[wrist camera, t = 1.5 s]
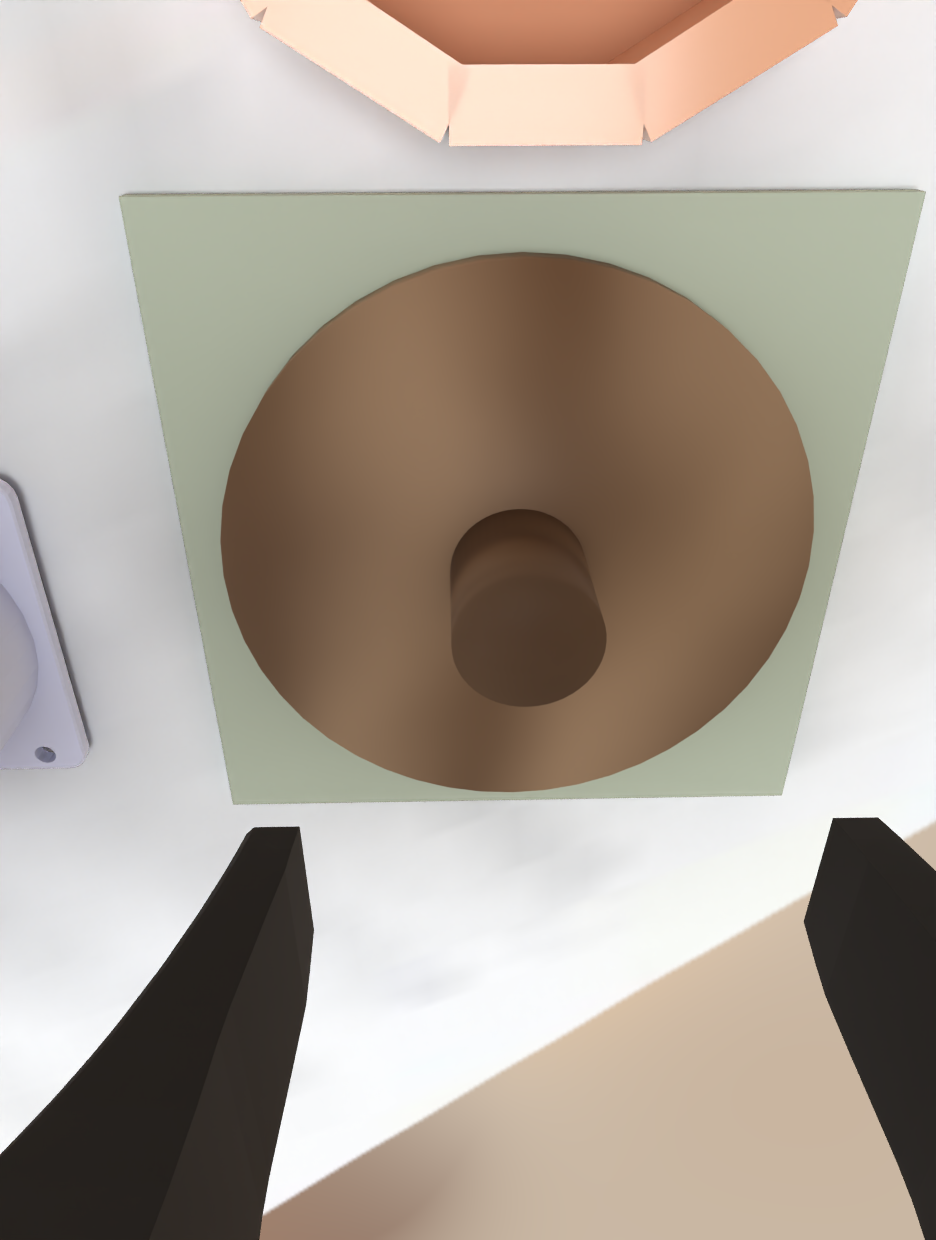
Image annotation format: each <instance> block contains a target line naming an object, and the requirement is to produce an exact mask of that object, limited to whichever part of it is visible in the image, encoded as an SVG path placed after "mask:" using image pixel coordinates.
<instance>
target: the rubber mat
mask: <svg viewBox="0 0 936 1240" xmlns="http://www.w3.org/2000/svg"><path fill="white" fill-rule="evenodd" d="M925 193H926V192H925V191H920V190H755V191H591V192H428V193H264V194H125V195H122V196H119V201H120V206H121V211H122V217H123V222H124V227H125V233H126V238H127V243H128V248H129V254H130V259H131V264H132V270H133V275H134V280H135V286H136V291H137V296H138V302H139V307H140V312H141V317H142V323H143V328H144V333H145V339H146V344H147V349H148V355H149V360H150V365H151V371H152V376H153V381H154V387H155V392H156V397H157V402H158V408H159V413H160V418H161V424H162V429H163V434H164V440H165V445H166V450H167V456H168V461H169V466H170V471H171V477H172V482H173V487H174V493H175V498H176V503H177V509H178V514H179V519H180V525H181V530H182V535H183V541H184V546H185V551H186V556H187V562H188V567H189V572H190V578H191V583H192V588H193V594H194V599H195V604H196V610H197V615H198V620H199V625H200V631H201V636H202V641H203V647H204V652H205V657H206V663H207V668H208V673H209V679H210V684H211V689H212V695H213V700H214V705H215V710H216V716H217V721H218V726H219V732H220V737H221V742H222V748H223V753H224V758H225V764H226V769H227V774H228V779H229V785H230V790H231V795H232V801H233V804H292V803H352V802H413V801H473V800H534V799H594V798H654V797H715V796H775V795H782V792H783V788H784V784H785V780H786V775H787V771H788V767H789V763H790V759H791V754H792V750H793V746H794V742H795V738H796V734H797V729H798V725H799V721H800V717H801V713H802V708H803V704H804V700H805V696H806V692H807V687H808V683H809V679H810V675H811V671H812V667H813V662H814V658H815V654H816V650H817V646H818V641H819V637H820V633H821V629H822V625H823V620H824V616H825V612H826V608H827V604H828V600H829V595H830V591H831V587H832V583H833V579H834V574H835V570H836V566H837V562H838V558H839V553H840V549H841V545H842V541H843V537H844V533H845V528H846V524H847V520H848V516H849V512H850V507H851V503H852V499H853V495H854V491H855V486H856V482H857V478H858V474H859V470H860V466H861V461H862V457H863V453H864V449H865V445H866V440H867V436H868V432H869V428H870V424H871V419H872V415H873V411H874V407H875V403H876V399H877V394H878V390H879V386H880V382H881V378H882V373H883V369H884V365H885V361H886V357H887V352H888V348H889V344H890V340H891V336H892V332H893V327H894V323H895V319H896V315H897V311H898V306H899V302H900V298H901V294H902V290H903V285H904V281H905V277H906V273H907V269H908V265H909V260H910V256H911V252H912V248H913V244H914V239H915V235H916V231H917V227H918V223H919V218H920V214H921V210H922V206H923V202H924V198H925ZM514 252H533V253H550V254H567V255H571V256H576V257H581V258H586V259H591V260H596V261H601V262H606V263H610V264H613V265H616V266H618V267H621V268H624V269H627V270H629V271H632V272H635V273H638V274H641V275H643V276H646V277H649V278H651V279H653V280H655V281H657V282H658V283H660V284H662V285H664V286H666V287H668V288H670V289H671V290H673V291H675V292H677V293H679V294H681V295H683V296H685V297H686V298H688V299H689V300H690V301H692V302H693V303H694V304H696V305H697V306H698V307H700V308H701V309H702V310H704V311H705V312H706V313H708V314H709V315H710V316H712V317H713V318H714V319H716V320H717V321H718V322H720V323H721V324H722V325H723V326H724V327H725V328H726V329H728V330H729V331H730V332H731V333H732V334H733V335H734V336H735V337H736V338H737V339H738V340H739V341H740V342H741V344H742V345H743V346H744V347H745V348H746V349H747V350H748V351H749V352H750V353H751V354H752V355H753V356H754V357H755V358H756V359H757V360H758V361H759V363H760V364H761V366H762V367H763V368H764V370H765V371H766V372H767V374H768V375H769V377H770V378H771V379H772V381H773V382H774V384H775V385H776V386H777V388H778V389H779V391H780V392H781V394H782V396H783V398H784V400H785V402H786V404H787V406H788V408H789V410H790V412H791V414H792V416H793V418H794V420H795V422H796V424H797V427H798V430H799V433H800V436H801V439H802V443H803V446H804V449H805V452H806V455H807V458H808V462H809V469H810V475H811V482H812V488H813V495H814V534H813V541H812V548H811V555H810V562H809V568H808V571H807V574H806V578H805V581H804V585H803V588H802V592H801V595H800V599H799V601H798V603H797V606H796V608H795V610H794V612H793V615H792V617H791V619H790V622H789V624H788V626H787V628H786V631H785V632H784V634H783V636H782V637H781V639H780V641H779V642H778V644H777V645H776V647H775V649H774V650H773V652H772V654H771V655H770V657H769V659H768V660H767V661H766V663H765V664H764V665H763V667H762V668H761V669H760V670H759V672H758V673H757V674H756V676H755V677H754V678H753V679H752V681H751V682H750V683H749V684H748V686H747V687H746V688H745V689H744V690H743V691H742V692H741V693H740V694H739V695H738V696H737V697H736V698H735V699H734V700H733V701H732V702H731V703H730V704H729V705H728V706H727V707H726V708H725V709H724V710H723V711H722V712H720V713H719V714H718V715H717V716H715V717H714V718H713V719H712V720H711V721H709V722H708V723H707V724H706V725H704V726H703V727H702V728H701V729H699V730H698V731H697V732H695V733H694V734H692V735H690V736H689V737H687V738H686V739H684V740H683V741H681V742H680V743H678V744H677V745H675V746H673V747H672V748H670V749H668V750H667V751H665V752H663V753H661V754H659V755H657V756H655V757H653V758H651V759H649V760H647V761H645V762H643V763H641V764H638V765H636V766H633V767H631V768H628V769H626V770H623V771H620V772H618V773H615V774H613V775H610V776H607V777H603V778H599V779H596V780H592V781H588V782H585V783H581V784H577V785H572V786H566V787H560V788H554V789H548V790H538V791H524V792H481V791H472V790H465V789H457V788H449V787H444V786H440V785H435V784H431V783H427V782H423V781H418V780H415V779H412V778H409V777H406V776H403V775H400V774H397V773H395V772H392V771H389V770H386V769H384V768H382V767H379V766H377V765H375V764H373V763H371V762H369V761H367V760H365V759H363V758H360V757H358V756H356V755H355V754H353V753H351V752H350V751H348V750H346V749H345V748H343V747H342V746H340V745H338V744H337V743H335V742H334V741H332V740H330V739H329V738H327V737H326V736H325V735H324V734H322V733H321V732H320V731H319V730H317V729H316V728H315V727H314V726H312V725H311V724H310V723H308V722H307V721H306V720H305V719H303V718H302V717H301V716H300V715H299V714H298V713H297V712H296V710H295V709H294V708H293V707H292V706H291V705H290V704H289V703H288V702H287V701H286V700H285V699H284V698H283V697H282V696H281V695H280V694H279V693H278V691H277V690H276V689H275V687H274V686H273V685H272V684H271V682H270V681H269V680H268V678H267V677H266V676H265V674H264V673H263V672H262V670H261V669H260V667H259V666H258V664H257V662H256V660H255V659H254V657H253V655H252V653H251V652H250V650H249V648H248V646H247V645H246V643H245V641H244V639H243V636H242V634H241V631H240V629H239V626H238V624H237V621H236V619H235V616H234V614H233V612H232V609H231V605H230V601H229V597H228V592H227V588H226V584H225V580H224V576H223V565H222V555H221V544H220V537H221V518H222V504H223V499H224V495H225V490H226V485H227V480H228V475H229V470H230V467H231V465H232V462H233V459H234V456H235V454H236V451H237V448H238V445H239V443H240V440H241V437H242V435H243V432H244V431H245V429H246V427H247V425H248V423H249V421H250V420H251V418H252V416H253V414H254V412H255V411H256V409H257V407H258V405H259V403H260V401H261V400H262V398H263V396H264V394H265V392H266V391H267V389H268V387H269V386H270V385H271V383H272V382H273V381H274V379H275V378H276V377H277V375H278V374H279V373H280V371H281V370H282V369H283V367H284V366H285V365H286V363H287V362H288V361H289V359H290V358H291V357H292V355H293V354H294V353H295V352H296V351H297V350H298V349H299V348H300V347H301V346H302V345H303V344H304V343H305V342H306V341H307V340H308V339H310V338H311V337H312V336H313V335H314V334H315V333H316V332H317V331H318V330H319V329H320V328H321V327H322V326H323V325H324V324H326V323H327V322H328V321H330V320H331V319H332V318H334V317H335V316H336V315H338V314H339V313H340V312H342V311H343V310H344V309H346V308H347V307H348V306H350V305H351V304H353V303H354V302H355V301H357V300H359V299H361V298H362V297H364V296H366V295H368V294H370V293H372V292H373V291H375V290H377V289H379V288H381V287H383V286H385V285H386V284H388V283H390V282H392V281H394V280H396V279H399V278H402V277H404V276H407V275H410V274H412V273H415V272H418V271H420V270H423V269H426V268H428V267H431V266H434V265H438V264H442V263H447V262H451V261H455V260H460V259H464V258H469V257H473V256H478V255H490V254H502V253H514Z"/></svg>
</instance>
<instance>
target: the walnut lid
mask: <svg viewBox="0 0 936 1240" xmlns="http://www.w3.org/2000/svg"><path fill="white" fill-rule="evenodd" d="M813 534H814V495H813V488H812V482H811V475H810V469H809V462H808V458H807V455H806V452H805V449H804V446H803V443H802V439H801V436H800V433H799V430H798V427H797V424H796V422H795V420H794V418H793V416H792V414H791V412H790V410H789V408H788V406H787V404H786V402H785V400H784V398H783V396H782V394H781V392H780V391H779V389H778V388H777V386H776V385H775V384H774V382H773V381H772V379H771V378H770V377H769V375H768V374H767V372H766V371H765V370H764V368H763V367H762V366H761V364H760V363H759V361H758V360H757V359H756V358H755V357H754V356H753V355H752V354H751V353H750V352H749V351H748V350H747V349H746V348H745V347H744V346H743V345H742V344H741V342H740V341H739V340H738V339H737V338H736V337H735V336H734V335H733V334H732V333H731V332H730V331H729V330H728V329H726V328H725V327H724V326H723V325H722V324H721V323H720V322H718V321H717V320H716V319H714V318H713V317H712V316H710V315H709V314H708V313H706V312H705V311H704V310H702V309H701V308H700V307H698V306H697V305H696V304H694V303H693V302H692V301H690V300H689V299H688V298H686V297H685V296H683V295H681V294H679V293H677V292H675V291H673V290H671V289H670V288H668V287H666V286H664V285H662V284H660V283H658V282H657V281H655V280H653V279H651V278H649V277H646V276H643V275H641V274H638V273H635V272H632V271H629V270H627V269H624V268H621V267H618V266H616V265H613V264H610V263H606V262H601V261H596V260H591V259H586V258H581V257H576V256H571V255H567V254H550V253H533V252H514V253H502V254H490V255H478V256H473V257H469V258H464V259H460V260H455V261H451V262H447V263H442V264H438V265H434V266H431V267H428V268H426V269H423V270H420V271H418V272H415V273H412V274H410V275H407V276H404V277H402V278H399V279H396V280H394V281H392V282H390V283H388V284H386V285H385V286H383V287H381V288H379V289H377V290H375V291H373V292H372V293H370V294H368V295H366V296H364V297H362V298H361V299H359V300H357V301H355V302H354V303H353V304H351V305H350V306H348V307H347V308H346V309H344V310H343V311H342V312H340V313H339V314H338V315H336V316H335V317H334V318H332V319H331V320H330V321H328V322H327V323H326V324H324V325H323V326H322V327H321V328H320V329H319V330H318V331H317V332H316V333H315V334H314V335H313V336H312V337H311V338H310V339H308V340H307V341H306V342H305V343H304V344H303V345H302V346H301V347H300V348H299V349H298V350H297V351H296V352H295V353H294V354H293V355H292V357H291V358H290V359H289V361H288V362H287V363H286V365H285V366H284V367H283V369H282V370H281V371H280V373H279V374H278V375H277V377H276V378H275V379H274V381H273V382H272V383H271V385H270V386H269V387H268V389H267V391H266V392H265V394H264V396H263V398H262V400H261V401H260V403H259V405H258V407H257V409H256V411H255V412H254V414H253V416H252V418H251V420H250V421H249V423H248V425H247V427H246V429H245V431H244V432H243V435H242V437H241V440H240V443H239V445H238V448H237V451H236V454H235V456H234V459H233V462H232V465H231V467H230V470H229V475H228V480H227V485H226V490H225V495H224V499H223V504H222V518H221V537H220V544H221V555H222V565H223V576H224V580H225V584H226V588H227V592H228V597H229V601H230V605H231V609H232V612H233V614H234V616H235V619H236V621H237V624H238V626H239V629H240V631H241V634H242V636H243V639H244V641H245V643H246V645H247V646H248V648H249V650H250V652H251V653H252V655H253V657H254V659H255V660H256V662H257V664H258V666H259V667H260V669H261V670H262V672H263V673H264V674H265V676H266V677H267V678H268V680H269V681H270V682H271V684H272V685H273V686H274V687H275V689H276V690H277V691H278V693H279V694H280V695H281V696H282V697H283V698H284V699H285V700H286V701H287V702H288V703H289V704H290V705H291V706H292V707H293V708H294V709H295V710H296V712H297V713H298V714H299V715H300V716H301V717H302V718H303V719H305V720H306V721H307V722H308V723H310V724H311V725H312V726H314V727H315V728H316V729H317V730H319V731H320V732H321V733H322V734H324V735H325V736H326V737H327V738H329V739H330V740H332V741H334V742H335V743H337V744H338V745H340V746H342V747H343V748H345V749H346V750H348V751H350V752H351V753H353V754H355V755H356V756H358V757H360V758H363V759H365V760H367V761H369V762H371V763H373V764H375V765H377V766H379V767H382V768H384V769H386V770H389V771H392V772H395V773H397V774H400V775H403V776H406V777H409V778H412V779H415V780H418V781H423V782H427V783H431V784H435V785H440V786H444V787H449V788H457V789H465V790H472V791H481V792H524V791H538V790H548V789H554V788H560V787H566V786H572V785H577V784H581V783H585V782H588V781H592V780H596V779H599V778H603V777H607V776H610V775H613V774H615V773H618V772H620V771H623V770H626V769H628V768H631V767H633V766H636V765H638V764H641V763H643V762H645V761H647V760H649V759H651V758H653V757H655V756H657V755H659V754H661V753H663V752H665V751H667V750H668V749H670V748H672V747H673V746H675V745H677V744H678V743H680V742H681V741H683V740H684V739H686V738H687V737H689V736H690V735H692V734H694V733H695V732H697V731H698V730H699V729H701V728H702V727H703V726H704V725H706V724H707V723H708V722H709V721H711V720H712V719H713V718H714V717H715V716H717V715H718V714H719V713H720V712H722V711H723V710H724V709H725V708H726V707H727V706H728V705H729V704H730V703H731V702H732V701H733V700H734V699H735V698H736V697H737V696H738V695H739V694H740V693H741V692H742V691H743V690H744V689H745V688H746V687H747V686H748V684H749V683H750V682H751V681H752V679H753V678H754V677H755V676H756V674H757V673H758V672H759V670H760V669H761V668H762V667H763V665H764V664H765V663H766V661H767V660H768V659H769V657H770V655H771V654H772V652H773V650H774V649H775V647H776V645H777V644H778V642H779V641H780V639H781V637H782V636H783V634H784V632H785V631H786V628H787V626H788V624H789V622H790V619H791V617H792V615H793V612H794V610H795V608H796V606H797V603H798V601H799V599H800V595H801V592H802V588H803V585H804V581H805V578H806V574H807V571H808V568H809V562H810V555H811V548H812V541H813Z"/></svg>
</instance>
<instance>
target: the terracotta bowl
mask: <svg viewBox="0 0 936 1240" xmlns="http://www.w3.org/2000/svg"><path fill="white" fill-rule="evenodd" d="M240 1H241V2H242V4H243V6H244V7H245V9H246V11H247V13H248V14H249V16H250V18H251V19H254V20H257V21H260V22H261V25H260V28H261V29H262V30H264V31H266V32H267V33H269V34H270V35H272V36H273V37H275V38H276V39H278V40H280V41H281V42H283V43H284V44H286V45H287V46H289V47H291V48H292V49H294V50H295V51H297V52H298V53H300V54H301V55H303V56H305V57H306V58H308V59H309V60H311V61H312V62H314V63H315V64H317V65H319V66H320V67H322V68H323V69H325V70H326V71H328V72H330V73H331V74H333V75H334V76H336V77H337V78H339V79H340V80H342V81H344V82H345V83H347V84H348V85H350V86H351V87H353V88H354V89H356V90H358V91H359V92H361V93H362V94H364V95H365V96H367V97H368V98H370V99H372V100H373V101H375V102H376V103H378V104H379V105H381V106H383V107H384V108H386V109H387V110H389V111H390V112H392V113H393V114H395V115H397V116H398V117H400V118H401V119H403V120H404V121H406V122H407V123H409V124H411V125H412V126H414V127H415V128H417V129H418V130H420V131H422V132H423V133H425V134H426V135H428V136H429V137H431V138H432V139H434V140H436V141H437V142H439V143H440V142H441V140H442V138H443V136H444V134H445V132H446V130H447V127H448V125H449V146H553V145H642V139H643V140H646V141H650V142H652V141H654V140H656V139H657V138H659V137H660V136H662V135H664V134H665V133H667V132H669V131H670V130H672V129H673V128H675V127H677V126H678V125H680V124H681V123H683V122H685V121H686V120H688V119H689V118H691V117H693V116H694V115H696V114H697V113H699V112H701V111H702V110H704V109H705V108H707V107H709V106H710V105H712V104H713V103H715V102H717V101H718V100H720V99H721V98H723V97H725V96H726V95H728V94H729V93H731V92H733V91H734V90H736V89H737V88H739V87H741V86H742V85H744V84H745V83H747V82H749V81H750V80H752V79H753V78H755V77H757V76H758V75H760V74H761V73H763V72H765V71H766V70H768V69H769V68H771V67H773V66H774V65H776V64H777V63H779V62H781V61H782V60H784V59H785V58H787V57H789V56H790V55H792V54H793V53H795V52H797V51H798V50H800V49H801V48H803V47H805V46H806V45H808V44H809V43H811V42H813V41H814V40H816V39H817V38H819V37H821V36H822V35H824V34H825V33H827V32H829V31H830V30H832V29H833V28H835V27H837V26H838V25H837V21H836V18H843V17H847V16H848V14H849V13H850V11H851V10H852V8H853V7H854V5H855V3H856V2H857V0H240Z"/></svg>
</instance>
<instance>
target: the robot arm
mask: <svg viewBox="0 0 936 1240" xmlns="http://www.w3.org/2000/svg"><path fill="white" fill-rule="evenodd" d="M42 747H48V748H50V749H51V750H53V751H54V753H52V752H48V751H46V750H44V749H43V748H42ZM88 753H89V744H88V740H87V737H86V733H85V730H84V726H83V723H82V719H81V716H80V712H79V709H78V705H77V702H76V698H75V695H74V691H73V688H72V685H71V681H70V678H69V674H68V671H67V667H66V664H65V660H64V657H63V653H62V650H61V646H60V643H59V639H58V636H57V632H56V629H55V625H54V622H53V618H52V615H51V612H50V608H49V605H48V601H47V598H46V594H45V591H44V587H43V584H42V580H41V577H40V573H39V570H38V566H37V563H36V559H35V556H34V552H33V549H32V545H31V542H30V539H29V535H28V532H27V528H26V525H25V521H24V518H23V514H22V511H21V507H20V504H19V500H18V497H17V495H16V493H15V491H14V489H13V488H12V487H11V486H10V485H9V484H8V483H7V482H5V481H3V480H1V479H0V769H45V768H74V767H78V766H79V765H81V764H83V762H84V760H85V758H86V756H87V754H88ZM804 924H805V928H806V931H807V935H808V938H809V942H810V946H811V949H812V953H813V956H814V960H815V963H816V967H817V970H818V973H819V976H820V980H821V983H822V986H823V989H824V992H825V996H826V998H827V1001H828V1003H829V1005H830V1008H831V1010H832V1013H833V1015H834V1017H835V1020H836V1022H837V1024H838V1027H839V1029H840V1032H841V1034H842V1036H843V1039H844V1041H845V1043H846V1046H847V1048H848V1050H849V1053H850V1055H851V1057H852V1060H853V1062H854V1064H855V1067H856V1069H857V1071H858V1074H859V1075H860V1078H861V1080H862V1083H863V1085H864V1087H865V1089H866V1092H867V1094H868V1096H869V1099H870V1101H871V1104H872V1106H873V1108H874V1110H875V1113H876V1115H877V1117H878V1120H879V1122H880V1124H881V1127H882V1129H883V1131H884V1133H885V1136H886V1138H887V1140H888V1142H889V1145H890V1147H891V1150H892V1152H893V1154H894V1156H895V1159H896V1161H897V1163H898V1166H899V1168H900V1171H901V1174H902V1176H903V1179H904V1181H905V1184H906V1187H907V1189H908V1192H909V1194H910V1197H911V1199H912V1202H913V1205H914V1208H915V1211H916V1214H917V1217H918V1220H919V1223H920V1226H921V1229H922V1232H923V1235H924V1238H925V1240H936V871H935V870H934V869H933V868H932V867H931V866H930V865H929V864H928V863H927V862H926V861H924V859H922V858H921V857H920V856H919V855H918V854H917V853H916V852H915V851H914V850H913V849H912V848H911V847H910V846H909V845H908V844H906V843H905V842H904V841H903V840H902V839H901V838H900V837H899V836H898V835H897V834H896V833H895V832H893V831H892V830H891V829H890V828H889V827H888V826H887V825H886V824H885V823H884V822H882V821H881V820H880V819H879V818H833V820H832V824H831V827H830V831H829V834H828V838H827V841H826V845H825V848H824V852H823V855H822V859H821V863H820V866H819V870H818V873H817V877H816V880H815V884H814V887H813V891H812V894H811V898H810V901H809V905H808V908H807V912H806V915H805V919H804ZM313 933H314V928H313V920H312V913H311V906H310V899H309V892H308V884H307V877H306V870H305V863H304V856H303V848H302V841H301V834H300V827H254V828H253V829H252V830H251V831H250V832H248V833H247V834H246V836H245V838H244V840H243V842H242V843H241V845H240V847H239V849H238V850H237V852H236V854H235V856H234V857H233V859H232V861H231V862H230V864H229V866H228V867H227V869H226V871H225V872H224V874H223V876H222V877H221V879H220V880H219V882H218V884H217V885H216V887H215V888H214V890H213V892H212V893H211V895H210V896H209V898H208V899H207V901H206V902H205V904H204V906H203V907H202V909H201V910H200V912H199V913H198V915H197V916H196V918H195V919H194V921H193V922H192V923H191V925H190V926H189V928H188V929H187V931H186V932H185V934H184V935H183V936H182V938H181V939H180V941H179V942H178V944H177V945H176V947H175V948H174V950H173V951H172V952H171V954H170V955H169V957H168V958H167V960H166V961H165V962H164V964H163V965H162V967H161V968H160V969H159V971H158V972H157V973H156V975H155V976H154V977H153V979H152V980H151V981H150V982H149V984H148V985H147V986H146V988H145V989H144V990H143V992H142V993H141V994H140V996H139V997H138V998H137V999H136V1001H135V1002H134V1003H133V1005H132V1006H131V1007H130V1009H129V1010H128V1011H127V1012H126V1014H125V1015H124V1016H123V1018H122V1019H121V1020H120V1022H119V1023H118V1024H117V1025H116V1027H115V1028H114V1029H113V1030H112V1031H111V1033H110V1034H109V1035H108V1036H107V1038H106V1039H105V1040H104V1041H103V1042H102V1044H101V1045H100V1046H99V1047H98V1048H97V1050H96V1051H95V1052H94V1053H93V1054H92V1056H91V1057H90V1058H89V1059H88V1060H87V1061H86V1063H85V1064H84V1065H83V1066H82V1067H81V1068H80V1069H79V1071H78V1072H77V1073H76V1074H75V1075H74V1076H73V1077H72V1078H71V1080H70V1081H69V1082H68V1083H67V1084H66V1085H65V1086H64V1088H63V1089H62V1090H61V1091H60V1092H59V1093H58V1094H57V1095H56V1096H55V1098H54V1099H53V1100H52V1101H51V1102H50V1103H49V1104H48V1105H47V1106H46V1107H45V1108H44V1109H43V1110H42V1111H41V1112H40V1113H39V1115H38V1116H37V1117H36V1118H35V1119H34V1120H33V1121H32V1122H31V1123H30V1124H29V1125H28V1126H27V1127H26V1128H25V1129H24V1130H23V1131H22V1132H21V1133H20V1134H19V1136H18V1137H17V1138H16V1139H15V1140H14V1141H13V1142H12V1143H11V1144H10V1145H9V1146H8V1147H7V1148H6V1149H5V1150H4V1151H3V1152H2V1153H1V1154H0V1240H259V1237H260V1229H261V1222H262V1215H263V1209H264V1203H265V1198H266V1192H267V1186H268V1181H269V1176H270V1171H271V1166H272V1162H273V1157H274V1152H275V1148H276V1143H277V1139H278V1134H279V1129H280V1125H281V1120H282V1115H283V1111H284V1106H285V1101H286V1097H287V1092H288V1088H289V1083H290V1078H291V1074H292V1069H293V1064H294V1060H295V1055H296V1050H297V1046H298V1041H299V1036H300V1031H301V1027H302V1022H303V1017H304V1012H305V1007H306V1001H307V992H308V983H309V974H310V964H311V954H312V944H313Z"/></svg>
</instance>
